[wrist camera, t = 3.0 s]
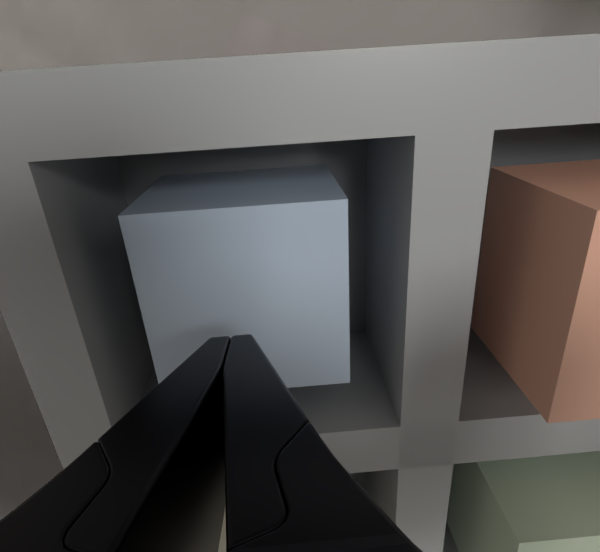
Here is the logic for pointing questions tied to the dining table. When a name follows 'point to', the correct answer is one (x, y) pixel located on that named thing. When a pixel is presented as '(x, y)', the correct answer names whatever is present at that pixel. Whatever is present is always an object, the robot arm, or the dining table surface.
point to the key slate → (245, 267)
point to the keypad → (361, 234)
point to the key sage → (527, 504)
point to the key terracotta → (544, 284)
